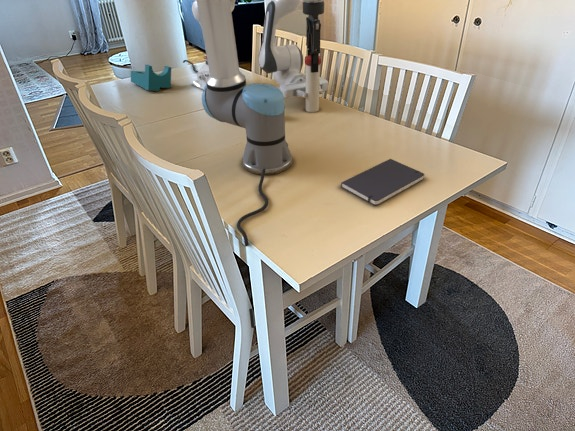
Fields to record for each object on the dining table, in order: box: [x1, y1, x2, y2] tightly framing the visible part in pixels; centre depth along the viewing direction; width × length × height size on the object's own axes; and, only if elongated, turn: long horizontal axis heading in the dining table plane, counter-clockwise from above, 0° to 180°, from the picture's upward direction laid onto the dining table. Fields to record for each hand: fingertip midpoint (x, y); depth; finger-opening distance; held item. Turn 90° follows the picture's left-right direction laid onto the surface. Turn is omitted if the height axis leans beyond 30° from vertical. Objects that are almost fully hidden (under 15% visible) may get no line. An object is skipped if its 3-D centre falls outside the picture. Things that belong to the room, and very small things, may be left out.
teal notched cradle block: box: [130, 64, 172, 92], centre depth 188 cm, size 18×11×10 cm, turn 43°
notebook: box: [340, 158, 425, 206], centre depth 114 cm, size 13×2×21 cm
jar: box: [304, 64, 321, 113], centre depth 156 cm, size 5×5×20 cm
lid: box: [304, 55, 322, 66], centre depth 151 cm, size 6×6×2 cm
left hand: (313, 93), depth 157 cm, fingers closed on jar, 5 cm apart
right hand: (312, 69), depth 152 cm, fingers closed on lid, 6 cm apart
